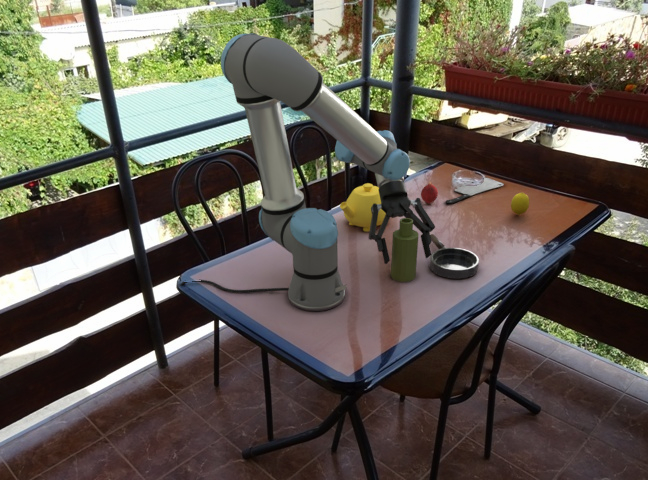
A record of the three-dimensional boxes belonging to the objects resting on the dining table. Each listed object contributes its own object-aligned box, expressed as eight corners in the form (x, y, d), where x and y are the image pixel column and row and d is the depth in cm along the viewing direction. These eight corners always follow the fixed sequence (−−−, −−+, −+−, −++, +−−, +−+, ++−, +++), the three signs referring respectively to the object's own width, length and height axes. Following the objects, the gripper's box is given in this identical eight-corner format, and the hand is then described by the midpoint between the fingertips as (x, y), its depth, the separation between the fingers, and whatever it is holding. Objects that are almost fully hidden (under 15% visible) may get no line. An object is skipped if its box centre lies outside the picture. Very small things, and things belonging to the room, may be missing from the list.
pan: (440, 283, 153) (441, 272, 151) (422, 260, 164) (423, 251, 162) (485, 276, 154) (487, 266, 153) (464, 254, 165) (466, 245, 164)
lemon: (528, 213, 186) (532, 190, 182) (524, 219, 182) (528, 196, 178) (511, 210, 189) (515, 188, 185) (507, 216, 185) (511, 194, 181)
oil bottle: (395, 283, 154) (398, 227, 145) (387, 271, 160) (389, 217, 150) (419, 279, 155) (423, 224, 146) (410, 268, 160) (413, 213, 151)
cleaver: (430, 197, 202) (451, 205, 195) (430, 195, 202) (451, 204, 195) (484, 178, 215) (506, 185, 208) (485, 176, 215) (506, 183, 207)
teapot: (357, 242, 176) (358, 202, 168) (324, 227, 186) (323, 189, 179) (400, 223, 186) (402, 184, 178) (366, 210, 196) (367, 172, 189)
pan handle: (441, 253, 164) (442, 248, 163) (428, 238, 172) (428, 233, 171) (447, 252, 164) (447, 247, 163) (433, 238, 172) (434, 232, 171)
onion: (438, 206, 195) (440, 184, 191) (422, 207, 196) (423, 185, 191) (435, 200, 200) (436, 178, 196) (418, 200, 200) (420, 179, 196)
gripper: (426, 185, 161) (443, 257, 156) (348, 195, 158) (363, 269, 154) (435, 174, 154) (453, 249, 149) (353, 184, 151) (369, 261, 146)
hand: (407, 259), depth 151 cm, fingers open, 11 cm apart
